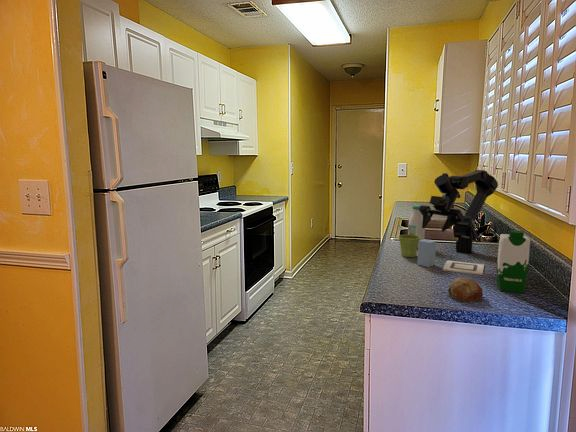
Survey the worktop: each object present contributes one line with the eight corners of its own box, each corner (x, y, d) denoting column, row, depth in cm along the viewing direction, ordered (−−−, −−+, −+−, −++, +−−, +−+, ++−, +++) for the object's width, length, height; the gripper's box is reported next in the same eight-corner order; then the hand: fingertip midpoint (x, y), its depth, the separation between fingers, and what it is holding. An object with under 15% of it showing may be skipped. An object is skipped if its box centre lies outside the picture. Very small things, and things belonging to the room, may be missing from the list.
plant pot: (412, 259, 176) (412, 239, 175) (393, 255, 183) (394, 236, 182) (423, 256, 182) (424, 236, 181) (405, 252, 189) (406, 233, 188)
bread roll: (447, 302, 136) (438, 281, 135) (474, 288, 136) (466, 267, 135) (462, 314, 127) (452, 291, 125) (492, 299, 127) (483, 276, 125)
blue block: (423, 262, 171) (424, 239, 170) (434, 265, 168) (436, 241, 166) (417, 264, 168) (418, 240, 166) (428, 267, 164) (430, 242, 163)
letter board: (484, 265, 166) (484, 264, 166) (482, 275, 154) (482, 273, 154) (447, 261, 172) (447, 260, 172) (442, 270, 160) (442, 268, 160)
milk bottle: (421, 244, 204) (423, 204, 201) (425, 248, 196) (427, 206, 193) (405, 244, 205) (407, 204, 201) (408, 248, 197) (410, 206, 194)
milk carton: (497, 291, 136) (502, 232, 132) (493, 283, 144) (498, 227, 141) (528, 294, 133) (533, 233, 130) (522, 286, 141) (527, 228, 138)
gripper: (421, 187, 180) (405, 215, 176) (461, 190, 166) (445, 221, 161) (431, 202, 186) (416, 230, 182) (471, 206, 172) (455, 237, 167)
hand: (432, 229), depth 173 cm, fingers open, 9 cm apart
